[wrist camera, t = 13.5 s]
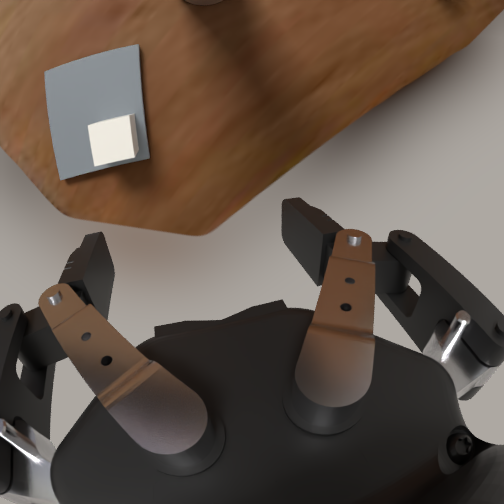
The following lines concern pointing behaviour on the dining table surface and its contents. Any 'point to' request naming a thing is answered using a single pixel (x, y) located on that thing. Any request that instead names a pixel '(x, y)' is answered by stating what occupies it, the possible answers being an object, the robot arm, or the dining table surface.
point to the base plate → (93, 105)
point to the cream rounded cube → (113, 139)
